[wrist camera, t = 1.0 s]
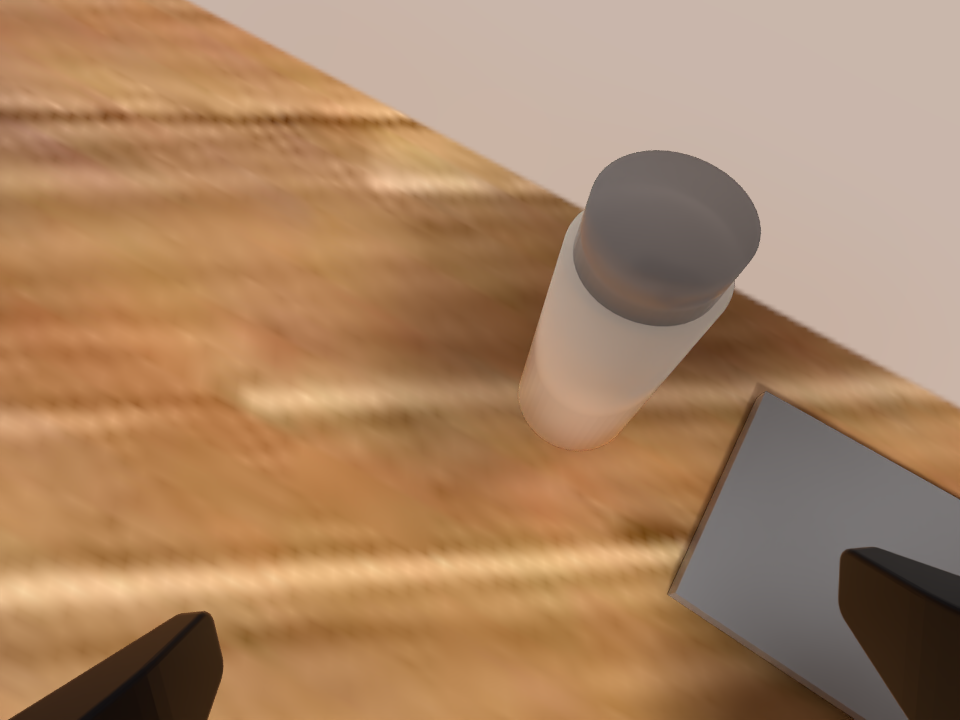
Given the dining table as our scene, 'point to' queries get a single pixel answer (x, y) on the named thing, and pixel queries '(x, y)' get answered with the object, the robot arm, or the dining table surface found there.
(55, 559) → the dining table surface
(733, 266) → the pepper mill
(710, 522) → the slate board
